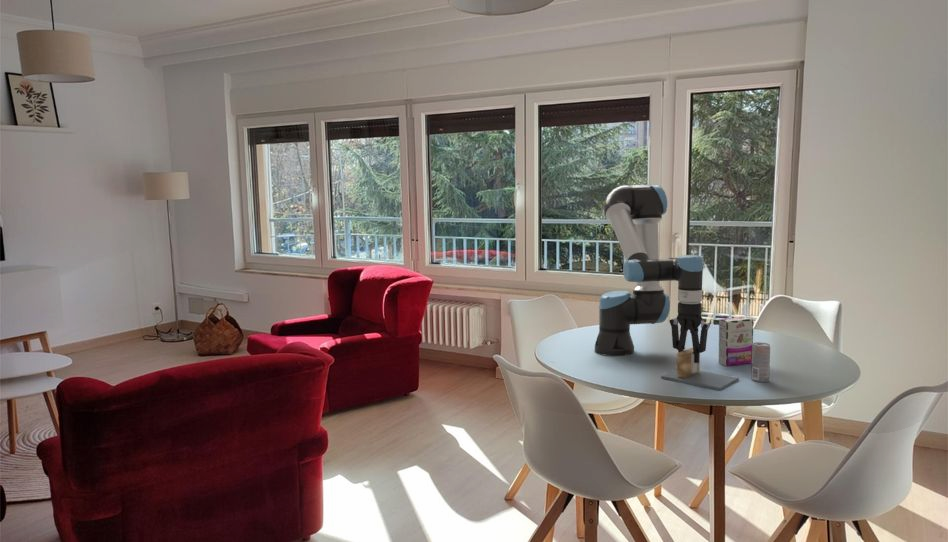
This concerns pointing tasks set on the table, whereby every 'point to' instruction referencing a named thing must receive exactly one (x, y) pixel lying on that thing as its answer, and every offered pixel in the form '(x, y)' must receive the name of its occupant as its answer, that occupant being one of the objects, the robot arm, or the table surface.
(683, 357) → the slab
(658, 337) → the table surface
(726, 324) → the candy bar box
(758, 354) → the energy drink
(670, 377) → the mat
